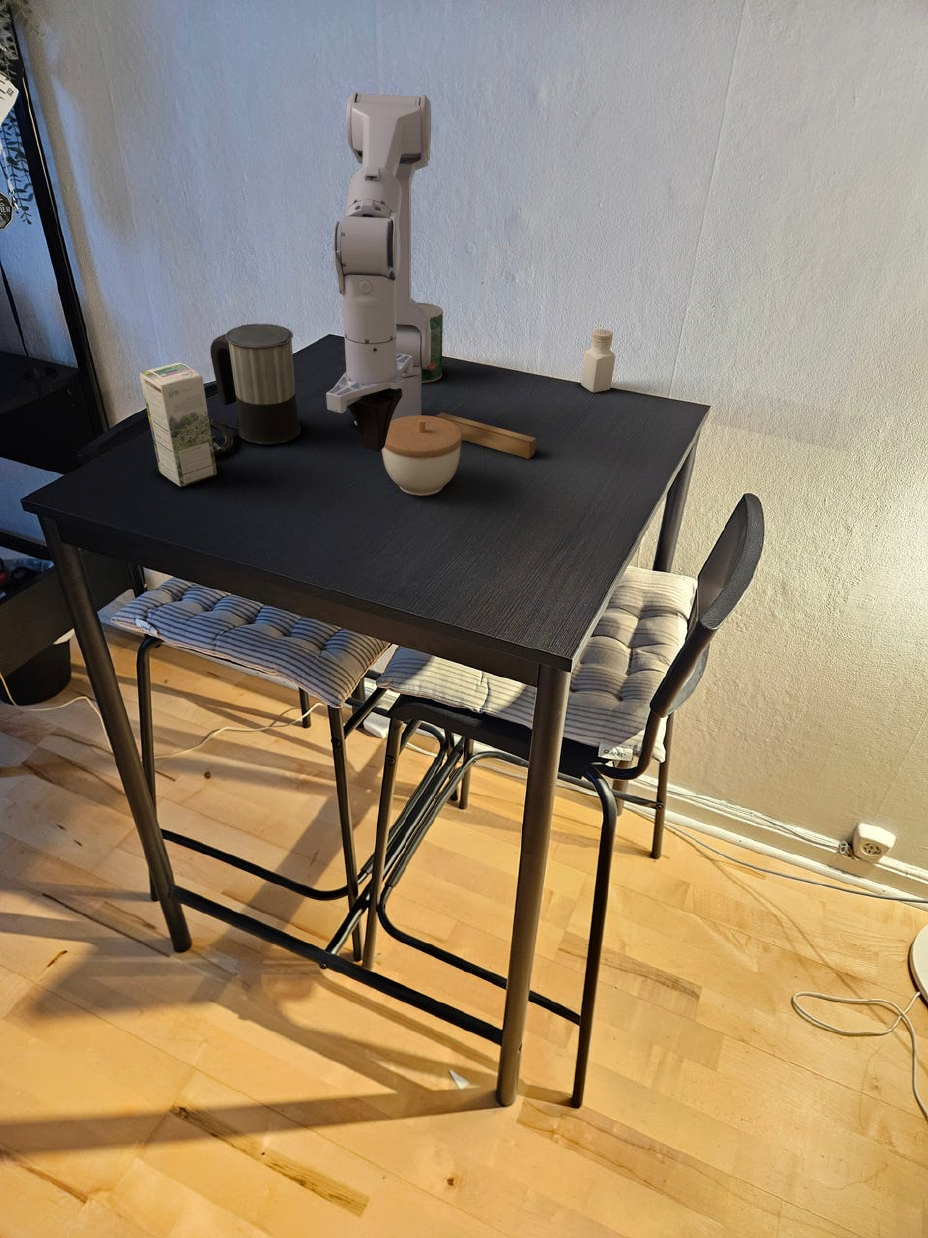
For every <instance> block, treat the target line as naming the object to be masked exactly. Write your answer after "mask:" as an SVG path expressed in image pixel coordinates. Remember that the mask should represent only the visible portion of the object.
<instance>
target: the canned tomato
mask: <svg viewBox="0 0 928 1238" xmlns="http://www.w3.org/2000/svg"><path fill="white" fill-rule="evenodd" d="M417 303H418V304H419V305H420V306H422V307H423V308H424V309H425V310H426V311H427V312H428V315H429V316H430V328H431V356H430V364H429V365H428V366H427V368H426V369H424V368H422V371H421V384H428V383H429V384H430V383H433V382H436V381H438V380H440V379H441V378H442V377H443V336H444V335H443V329H444V327H443V325H444V323H443V322H444V319H443V318H444V310H443V308H442V307H441V306H438V305H436V304H433V303H427V302H417Z"/></svg>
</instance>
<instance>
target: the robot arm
mask: <svg viewBox="0 0 928 1238" xmlns="http://www.w3.org/2000/svg"><path fill="white" fill-rule="evenodd" d="M345 110H346V111H345V114H346V115H345V121H346V122H345V123H346V125H345V126H346V127H345V128H346V137H347V144H348V146H349V148H350V150H351V152H352V154H353V156H354V157H355V159H356V160H357V162H358V164H360V165H362V167H361V168H359V170H357V171H356V172H355V173H354V174H353V176H352V177H351V178H350V182H349V187H348V193H347V197H346V204H345V210H344V216H343V218H342V221H338V220H337V221H335V224H334V229H333V236H332V239H333V240H332V241H333V242H332V248H333V251H332V252H333V258H334V265H335V270H336V274H337V275H336V276H337V285H338V292H339V295H342V298H341V299H342V315H343V316H342V317H343V334H344V351H345V353H344V354H345V369H346V370H345V372H344V373H343V375H342V376H341V377H340V379H339V380H338V381H337V383H336V384H335V385H334V387H333V388H332V389H330V390H329V391H326V394H325V396H326V409H327V410H328V411H332V412H334V413H339V414H343V413H345V412H347V410H349V412H350V414H351V415H352V417H353V419H354V425H355V426H357V428H358V431H359V434H360V437H361V441H362V444H363V446H364V449H367V450H370V451H374V452H376V453H377V452H380V451H382V449H383V448H384V446H385V443H386V439H387V434H388V430H389V426H390V422H391V421H392V420H395V419H398V418H401V417H406V416H417V415H422V383H421V371H422V368H424V369H426V368H427V366H428V365H429V364H430V356H431V328H430V316H429V315H428V312H427V311H426V310H425V309H424V308H423V307H422V306H420V305H419V304H418V303H419V302H417V301H416V300H414V299H413V298H412V183H413V179H414V176H415V173H416V171H419V170H421V169H423V168H426V167H428V166H429V161H430V160H431V145H432V143H431V142H432V102H431V100H430V99H429V98H428V95H426V94H422V95H421V96H418V95H395V94H393V95H392V94H372V93H371V94H370V93H358V92H357V91H352V92H351V94H350V95H349V96H348V97H347V100H346V109H345ZM347 408H348V409H347ZM422 416H424V415H422Z"/></svg>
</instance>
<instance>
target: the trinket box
mask: <svg viewBox="0 0 928 1238" xmlns="http://www.w3.org/2000/svg"><path fill="white" fill-rule="evenodd" d="M462 442H463V440H462V432H461V430H460V428H459V427H458V426H457V425H456V424H454V423H453V422H451V421H448V420H446V419H443V418H439V417H435V416H434V415H423V416H422V414H421V415H417V416H406V417H401V418H398V419H395V420H392V421H391V422H390V426H389V430H388V434H387V439H386V443H385V446H384V448H383V449H382V450H381V455H382V461H383V465H384V468H385V470H386V472H387V475H389V478H390V479H391V480H392V481H393V482H394V483H395V484H396V485H397V486H398V487H399V489H401V491H403V492H405V493H406V494H409V495H413V496H431V495H435V494H437V493H439V492H440V491H442V490H443V488H444V487H445V486H446V485H447V484H449V482H450V481H451V480H452V479H453V477H454V476H455V474H456V472H457V471H458V467H459V463H460V459H461V451H462Z"/></svg>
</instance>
